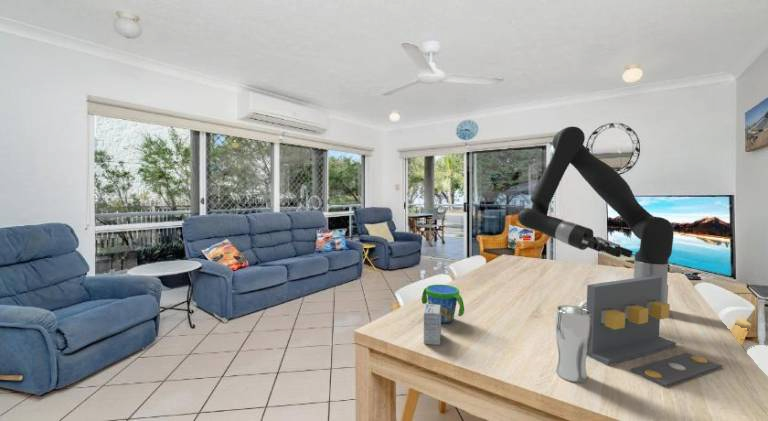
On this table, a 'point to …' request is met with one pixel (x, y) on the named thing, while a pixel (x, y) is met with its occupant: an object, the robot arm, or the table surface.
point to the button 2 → (658, 309)
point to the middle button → (636, 314)
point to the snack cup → (444, 300)
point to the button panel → (634, 337)
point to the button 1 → (609, 317)
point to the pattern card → (675, 369)
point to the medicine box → (432, 324)
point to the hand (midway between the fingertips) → (626, 254)
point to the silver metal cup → (573, 342)
